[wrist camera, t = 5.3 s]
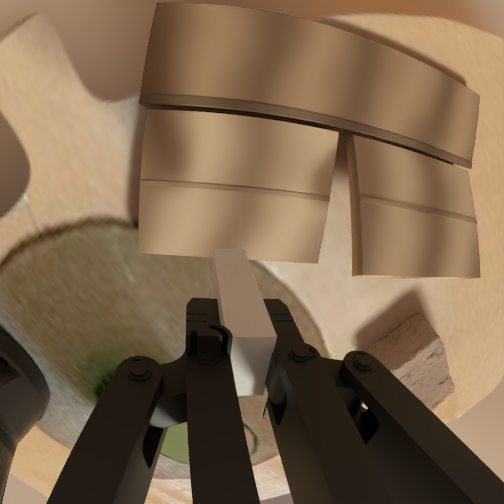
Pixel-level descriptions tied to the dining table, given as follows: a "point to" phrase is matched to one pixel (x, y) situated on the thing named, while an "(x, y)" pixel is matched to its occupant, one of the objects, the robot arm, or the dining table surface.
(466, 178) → the plank
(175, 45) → the floorboard
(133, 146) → the dining table surface
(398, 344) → the brick
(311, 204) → the plank
